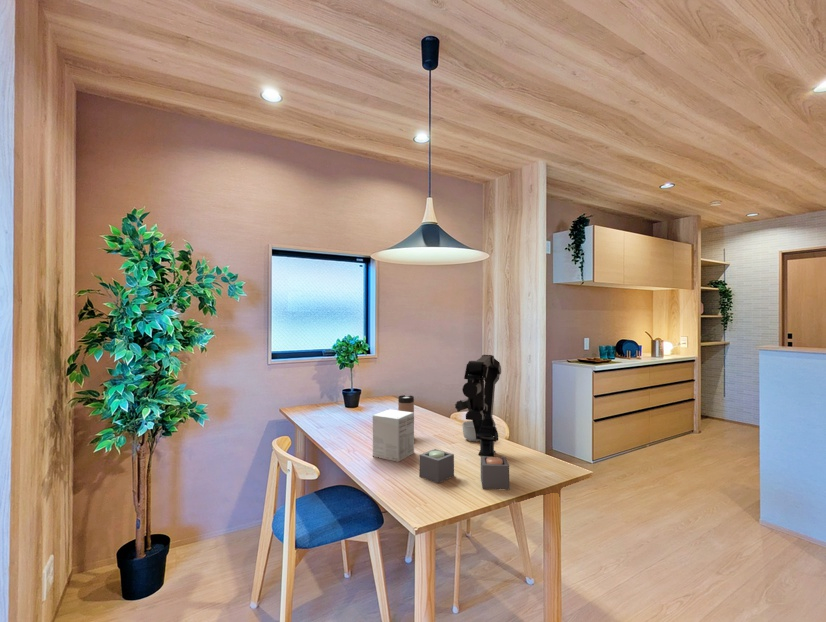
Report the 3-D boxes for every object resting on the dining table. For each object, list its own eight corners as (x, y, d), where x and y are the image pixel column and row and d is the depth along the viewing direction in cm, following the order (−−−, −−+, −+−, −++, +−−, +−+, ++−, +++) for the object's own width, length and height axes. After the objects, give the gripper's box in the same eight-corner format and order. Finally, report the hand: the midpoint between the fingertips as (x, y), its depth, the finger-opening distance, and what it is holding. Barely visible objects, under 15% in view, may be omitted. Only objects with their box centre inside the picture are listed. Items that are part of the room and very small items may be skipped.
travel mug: (404, 441, 192) (404, 398, 192) (395, 437, 198) (395, 396, 198) (417, 438, 196) (417, 396, 196) (408, 434, 202) (408, 394, 203)
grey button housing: (435, 469, 156) (435, 448, 156) (454, 476, 150) (453, 454, 150) (419, 476, 150) (419, 454, 150) (438, 483, 143) (438, 460, 143)
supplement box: (415, 452, 176) (414, 412, 176) (398, 462, 164) (398, 418, 165) (389, 448, 183) (389, 408, 183) (371, 456, 171) (371, 414, 171)
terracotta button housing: (480, 478, 148) (480, 456, 148) (506, 479, 147) (505, 456, 147) (482, 488, 139) (482, 465, 139) (509, 489, 138) (509, 466, 138)
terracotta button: (485, 465, 146) (485, 456, 146) (501, 465, 145) (501, 457, 145) (487, 471, 140) (487, 462, 140) (503, 471, 140) (503, 462, 140)
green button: (435, 457, 154) (435, 449, 154) (447, 461, 150) (447, 453, 150) (425, 461, 150) (425, 453, 150) (437, 465, 146) (437, 456, 146)
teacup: (480, 444, 187) (480, 427, 187) (458, 441, 192) (458, 424, 192) (490, 436, 199) (490, 420, 199) (469, 433, 204) (469, 417, 204)
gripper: (460, 388, 171) (460, 425, 171) (452, 396, 153) (452, 438, 153) (487, 389, 168) (487, 427, 168) (481, 398, 150) (482, 440, 150)
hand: (477, 433), depth 160 cm, fingers closed
